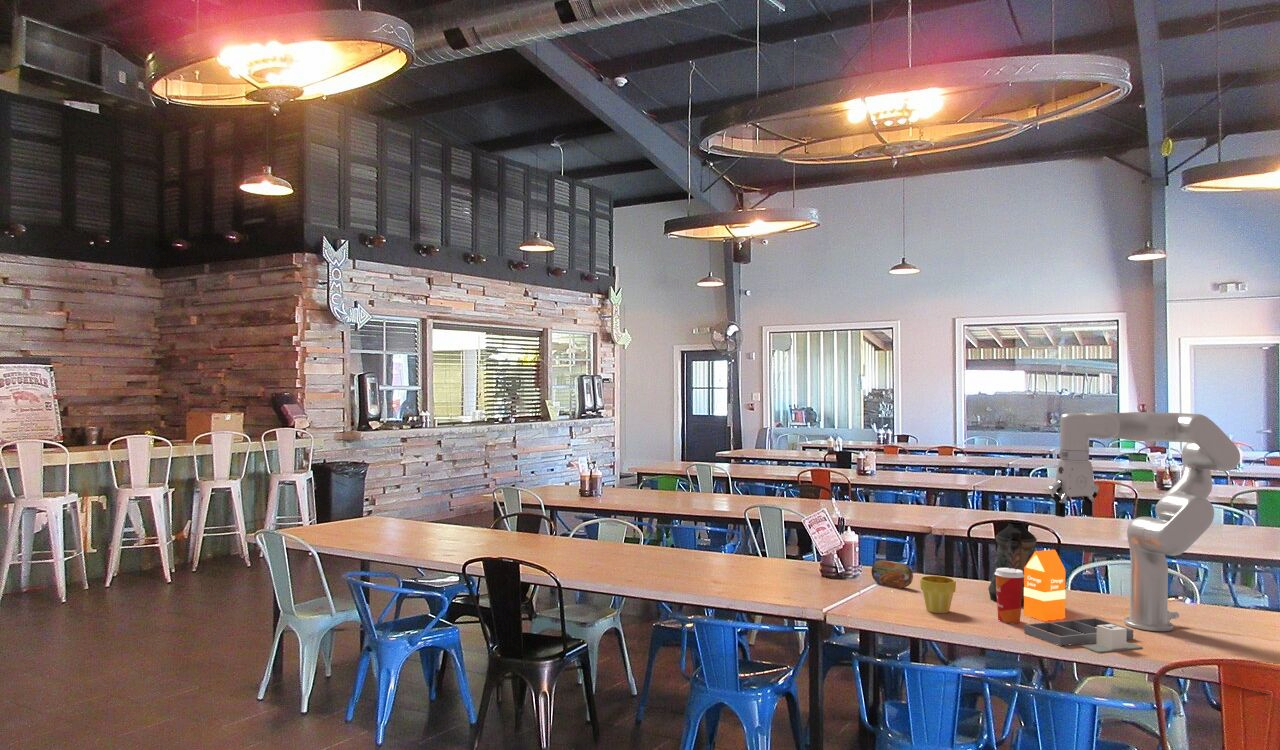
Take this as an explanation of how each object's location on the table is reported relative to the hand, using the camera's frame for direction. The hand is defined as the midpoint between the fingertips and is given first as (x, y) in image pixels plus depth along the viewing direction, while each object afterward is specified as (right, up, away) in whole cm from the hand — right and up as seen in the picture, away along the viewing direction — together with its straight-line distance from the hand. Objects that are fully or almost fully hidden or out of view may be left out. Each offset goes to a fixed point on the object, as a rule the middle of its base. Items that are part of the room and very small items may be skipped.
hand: (1073, 515), depth 261 cm
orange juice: (-3, -33, +13) cm, 35 cm away
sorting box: (-3, -32, -8) cm, 33 cm away
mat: (+1, -32, -19) cm, 37 cm away
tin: (-38, -33, +53) cm, 72 cm away
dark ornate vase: (-3, -33, +32) cm, 46 cm away
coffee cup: (-16, -32, +7) cm, 37 cm away
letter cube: (+1, -32, -19) cm, 37 cm away
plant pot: (-33, -32, +18) cm, 50 cm away
